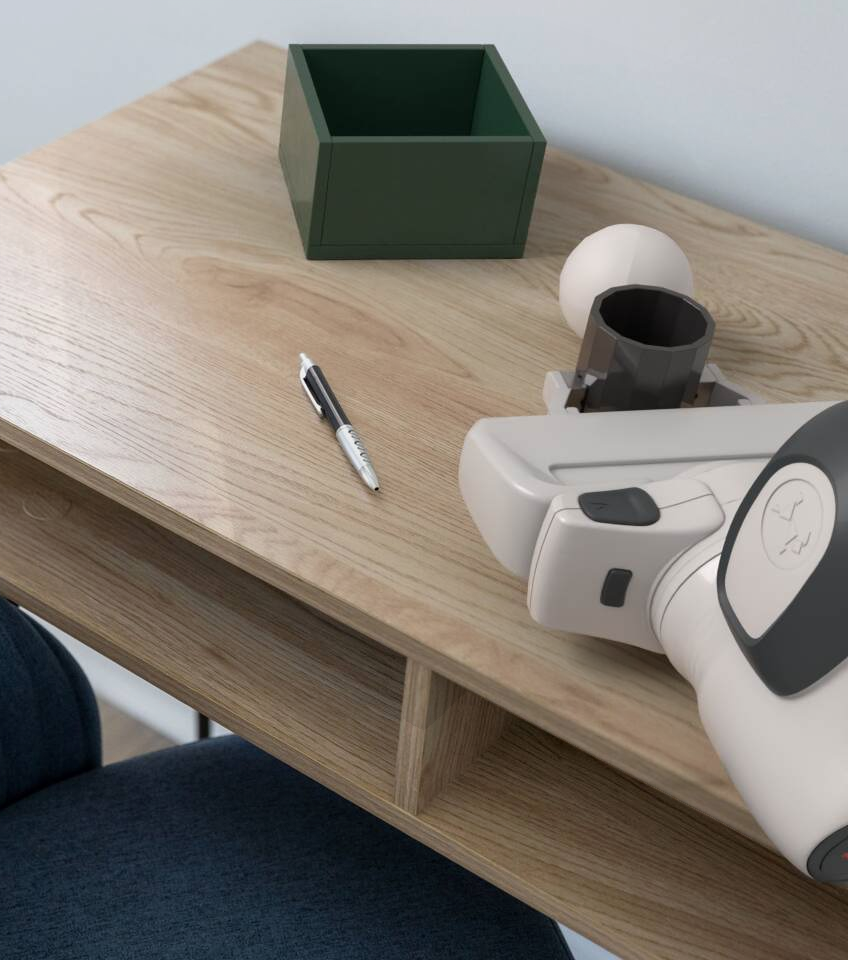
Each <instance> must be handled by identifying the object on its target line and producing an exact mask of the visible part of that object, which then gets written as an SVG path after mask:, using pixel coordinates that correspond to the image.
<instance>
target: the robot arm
mask: <svg viewBox="0 0 848 960" xmlns="http://www.w3.org/2000/svg"><path fill="white" fill-rule="evenodd" d="M579 375H580V374H579V372H578V371H577V370H576V369H572V370H568V369H567V370H548V371H547V372H546V374H545V378H544V383H543V387H542V400H543V402H544V405H545V406H546V409H547V413H546V414H539V415H538V414H537V415H536V414H534V415H518V416H517V415H516V416H515V415H514V416H513V415H512V416H489V417H481V418H479V419H478V420H476V421H475V423H473V425H472V426H471V428H470V429H469V430H468V431H467V434H466V435H465V437H464V441H463V444H462V448H461V453H460V457H459V464H458V473H457V475H458V476H457V481H458V488H459V491H460V494H461V497H462V499H463V501H464V504H465V507H466V508H467V510H468V513H469V515H470V517H471V518H472V521H473V523H474V524H475V526H476V528H477V530H478V531H479V533H480V535H481V537H482V539H483V540H484V542H485V544H486V545H487V547H488V549H489V551H490V552H491V553H492V555H493V556H494V557H495V559H496V560H497V561H498V562H499V564H500V565H501V566H503V568H505V569H506V570H507V571H508V572H509V573H511V574H512V575H514V576H516V577H517V578H519V579H522V580H524V581H527V596H526V606H527V609H528V611H529V615H530V616H531V618H532V620H534V622H535V623H536V624H538V625H539V626H541V627H543V628H546V629H549V630H553V631H559V632H564V633H565V632H566V633H571V634H577V635H583V636H589V637H595V638H600V639H605V640H610V641H614V642H618V643H622V644H626V645H630V646H634V647H637V648H640V649H644V650H646V651H649V652H653V653H656V654H660V655H665V656H666V657H667V659H668V661H669V662H670V663H671V665H672V667H673V668H674V669H675V670H676V672H677V673H678V674H680V676H682V677H683V678H684V679H685V680H686V681H687V682H688V683H689V684H690V685H691V686H692V687H693V689H694V692H695V694H696V700H697V701H696V702H697V709H698V714H699V718H700V722H701V725H702V727H703V730H704V732H705V734H706V736H707V739H708V740H709V742H710V744H711V747H712V748H713V750H714V752H715V754H716V756H717V758H718V760H719V762H720V763H721V765H722V767H723V769H724V770H725V772H726V775H727V776H728V778H729V780H730V781H731V783H732V785H733V786H734V788H735V789H736V791H737V793H738V795H739V796H740V798H741V801H743V803H744V804H745V806H746V808H747V809H748V811H749V812H750V814H751V816H752V817H753V819H754V820H755V822H756V823H757V824H758V825H759V828H761V830H762V832H763V833H764V834H765V835H766V836H767V838H768V840H769V841H770V842H771V843H772V845H774V847H775V848H776V849H777V850H778V851H779V853H781V855H782V856H783V857H784V858H785V859H786V860H787V861H788V862H789V863H790V864H791V865H792V866H793V867H795V868H796V869H797V870H799V871H800V872H801V873H803V874H804V875H805V876H807V877H808V878H810V879H812V880H814V881H817V882H822V883H826V884H829V885H835V886H845V887H848V400H846V399H844V400H827V401H825V400H824V401H808V402H807V401H805V402H803V401H802V402H785V403H783V402H782V403H768V402H767V401H766V399H765V398H764V396H762V395H759V394H757V393H755V392H753V391H751V390H750V389H747V388H745V387H743V386H741V385H739V384H738V383H735V382H733V381H732V380H728V379H727V378H726V377H725V375H724V374H723V373H722V371H721V369H720V368H719V366H718V365H717V364H716V363H705V366H704V369H703V372H702V376H701V379H700V382H699V385H698V389H697V392H696V395H695V398H694V401H693V405H692V408H679V409H658V410H637V411H616V412H596V413H581V410H582V406H583V405H582V403H581V401H582V400H583V399H584V398H585V394H586V390H587V386H586V384H584V383H583V381H582V379H581V378H579Z"/></svg>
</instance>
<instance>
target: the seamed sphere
mask: <svg viewBox="0 0 848 960" xmlns="http://www.w3.org/2000/svg"><path fill="white" fill-rule="evenodd" d="M720 267H721V266H720V265H718V266H716V267H714V268H711V269H708V270H706V271H702V272H700V273H698V274H696V275H693V272H692V269H691V266H690V263H689V259H688V257H687V255H686V254H685V253H684V251H683V250H682V249H681V248H680V247H679V245H678V244H677V243H676V242H675V241H674V240H673V239H672V238H671V237H669V236H668V235H667V234H666V233H664V232H662V231H660V230H658V229H655V228H654V227H650V226H646V225H643V224H642V225H641V224H635V223H617V224H611V225H609V226H608V225H607V226H606V227H604V228H602V229H600V230H598V231H595V232H593V233H592V234H590V235H588V236H586V237H584V239H583V240H581V242H580V243H579V244H578V245H577V246H576V247H575V248H574V249H573V250H572V252H570V254H569V255H568V257H567V258H566V260H565V263H564V264H563V267H562V270H561V272H560V274H559V287H558V288H559V292H558V299H559V300H558V303H559V307H560V309H561V312H562V315H563V317H564V320H565V322H566V323H567V325H568V327H569V329H571V331H572V332H574V334H575V335H576V336H577V337H578V338H580V339H581V340H582V341H583V338H584V334H585V330H586V326H587V322H588V318H589V314H590V310H591V307H592V304H593V301H594V298H595V297H596V296H597V295H599V294H601V293H602V292H604V291H606V290H607V289H609V288H611V287H616V286H623V285H630V284H640V285H650V286H659V287H664V288H667V289H670V290H672V291H675V292H678V293H681V294H684V295H687V296H689V297H690V298H692V299H694V298H693V296H694V285H695V284H694V278H696V277H698V276H701V275H703V274H705V273H708V272H712V271H714V270H717V269H720Z"/></svg>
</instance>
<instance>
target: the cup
mask: <svg viewBox="0 0 848 960" xmlns="http://www.w3.org/2000/svg"><path fill="white" fill-rule="evenodd" d="M716 328H717V323H716V321H715V320H714V318H713V316H712V315H711V313H710V312H709V310H708V308H707V307H705V306H703V305H702V304H701V303H699V302H697V301H696V300H695V299H694V298H690V297H689V296H687V295H684V294H681V293H678V292H675V291H672V290H670V289H667V288H664V287H659V286H650V285H640V284H630V285H623V286H616V287H611V288H609V289H607V290H606V291H604V292H602V293H601V294H599V295H597V296H596V297H595V298H594V301H593V304H592V307H591V310H590V314H589V318H588V322H587V326H586V330H585V334H584V338H583V340H582V343H581V346H580V349H579V355H578V358H577V361H576V362H577V363H576V365H575V370H577V371H578V372H579V374H580V375H579V378H581V379H582V381H583V383H584V384H586V386H587V390H586V394H585V398H584V399H583V400H582V401H581V403H582V405H583V406H582V410H581V413H596V412H616V411H637V410H658V409H679V408H692V405H693V401H694V398H695V395H696V392H697V389H698V385H699V382H700V379H701V376H702V372H703V369H704V366H705V364H707V360H708V357H709V353H710V349H711V346H712V343H713V340H714V336H715V331H716Z"/></svg>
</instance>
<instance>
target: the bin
mask: <svg viewBox="0 0 848 960" xmlns="http://www.w3.org/2000/svg"><path fill="white" fill-rule="evenodd" d="M287 46H288V47H287V57H286V69H285V78H284V89H283V98H282V99H283V100H282V108H281V109H282V110H281V120H280V129H279V130H280V132H279V143H278V151H277V152H278V153H277V155H278V159H279V162H280V166H281V171H282V173H283V178H284V181H285V185H286V189H287V192H288V196H289V200H290V204H291V206H292V210H293V214H294V219H295V222H296V225H297V230H298V233H299V237H300V240H301V244H302V247H303V251H304V256H305V259H306V260H407V259H408V260H409V259H410V260H413V259H415V260H416V259H417V260H418V259H419V260H420V259H422V260H423V259H424V260H425V259H428V260H429V259H522V258H524V256H525V255H524V254H525V249H526V243H527V240H528V236H529V229H530V225H531V221H532V216H533V211H534V206H535V202H536V197H537V192H538V187H539V182H540V178H541V173H542V168H543V164H544V160H545V155H546V150H547V145H548V141H547V139H546V137H545V135H544V134H543V131H542V129H541V128H540V126H539V124H538V122H537V120H536V119H535V116H534V115H533V114H532V112H531V109H530V108H529V106H528V104H527V101H525V99H524V97H523V95H522V93H521V91H520V89H519V87H518V86H517V84H516V82H515V80H514V78H513V76H512V74H511V73H510V71H509V69H508V67H507V65H506V63H505V62H504V60H503V58H502V56H501V54H500V52H499V51H498V49H497V47H496V45H495V43H289V44H288V45H287Z"/></svg>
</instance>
